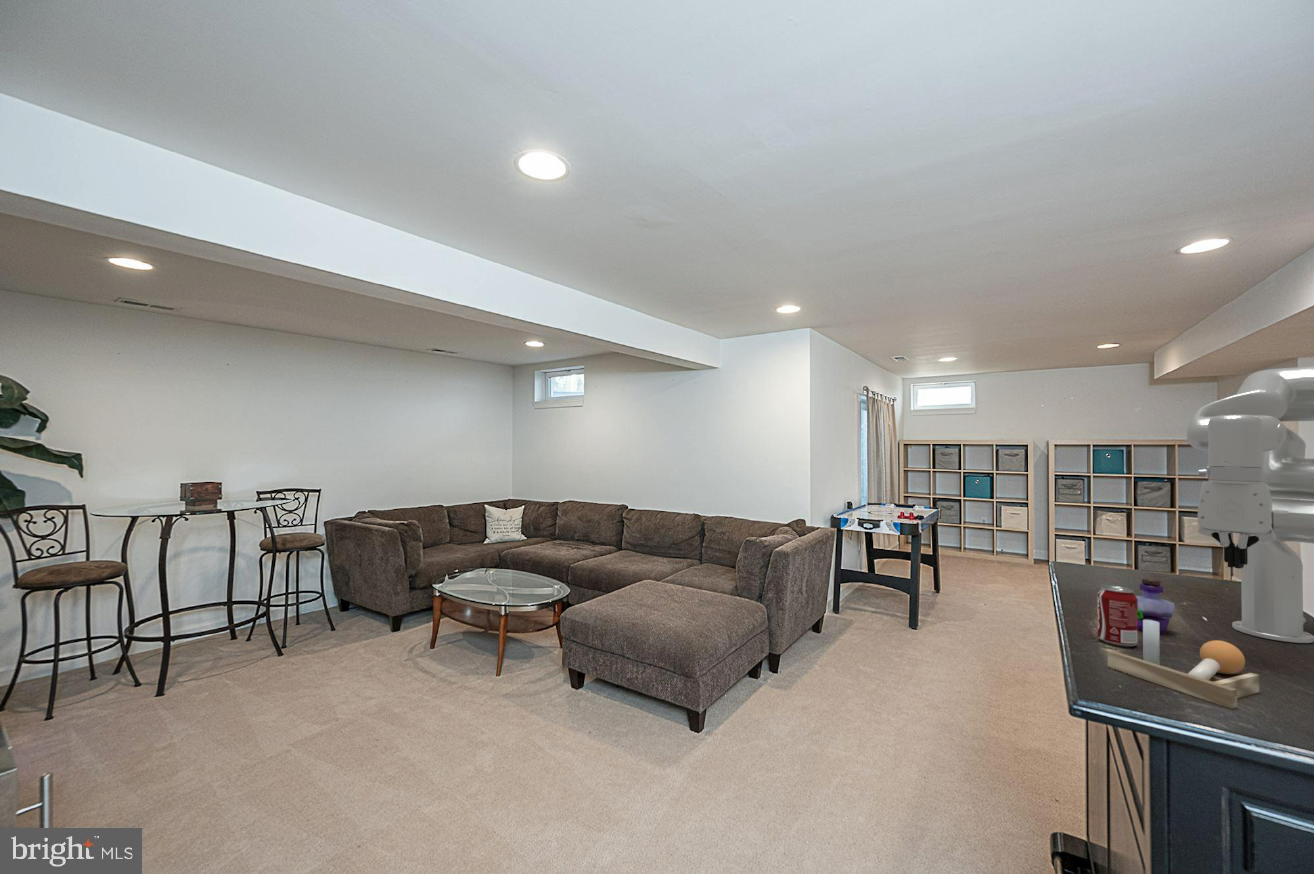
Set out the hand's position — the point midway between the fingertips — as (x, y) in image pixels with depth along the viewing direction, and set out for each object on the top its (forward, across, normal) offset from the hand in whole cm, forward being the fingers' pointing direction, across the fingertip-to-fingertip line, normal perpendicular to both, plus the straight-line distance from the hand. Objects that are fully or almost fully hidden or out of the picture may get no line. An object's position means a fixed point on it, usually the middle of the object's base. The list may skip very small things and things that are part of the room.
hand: (1235, 566), depth 109 cm
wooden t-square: (+19, -2, -21) cm, 29 cm away
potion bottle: (+19, -16, +10) cm, 27 cm away
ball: (+16, 0, -10) cm, 19 cm away
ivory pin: (+17, 0, -15) cm, 22 cm away
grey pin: (+19, -8, -17) cm, 27 cm away
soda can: (+19, -17, -8) cm, 27 cm away
